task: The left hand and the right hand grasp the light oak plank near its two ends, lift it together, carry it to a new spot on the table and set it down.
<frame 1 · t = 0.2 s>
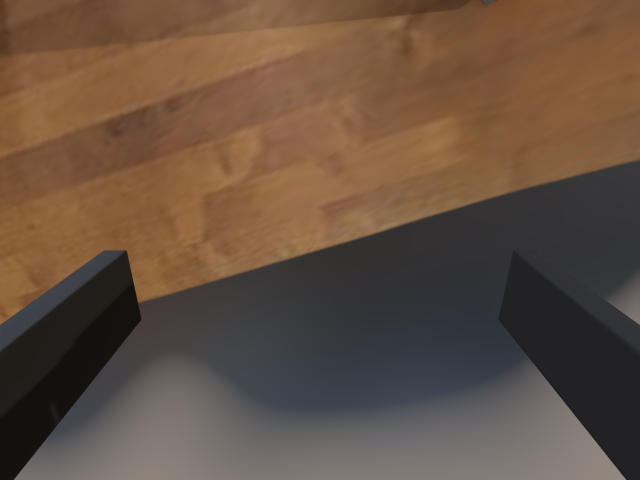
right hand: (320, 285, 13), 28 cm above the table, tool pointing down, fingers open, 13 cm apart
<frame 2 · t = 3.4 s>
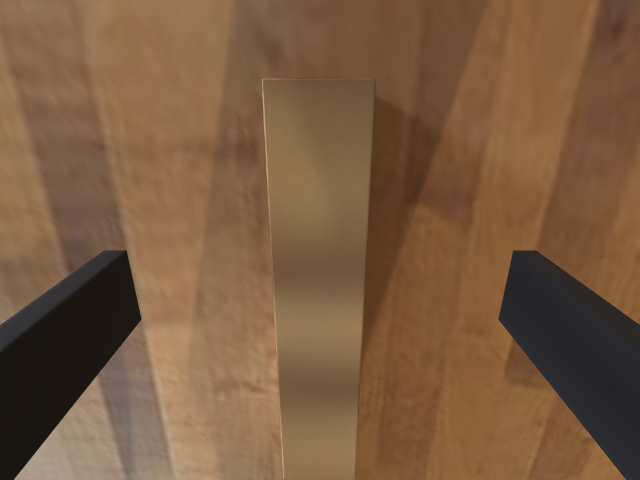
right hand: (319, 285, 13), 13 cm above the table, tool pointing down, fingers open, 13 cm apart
plank: (319, 410, 32), on the table, touching left hand
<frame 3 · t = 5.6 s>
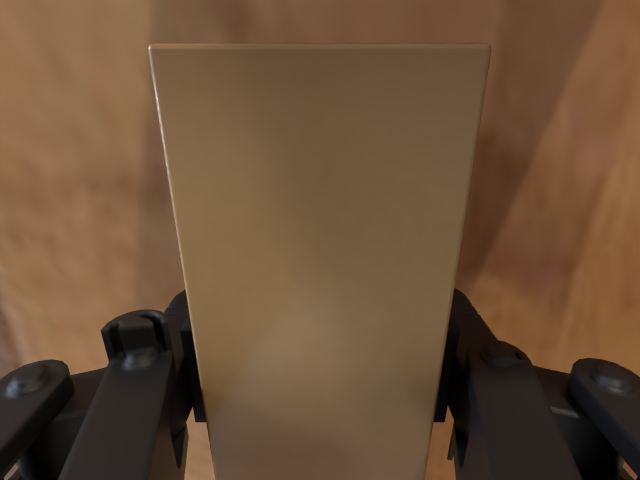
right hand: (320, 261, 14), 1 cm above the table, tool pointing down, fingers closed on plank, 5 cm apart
when the left hand's fingers open (2 cm above the table, at t = 9.1 s): plank drops 1 cm, on the table.
when the right hand's fingers open (2 cm above the table, at t = 9.1 s): plank drops 1 cm, on the table.
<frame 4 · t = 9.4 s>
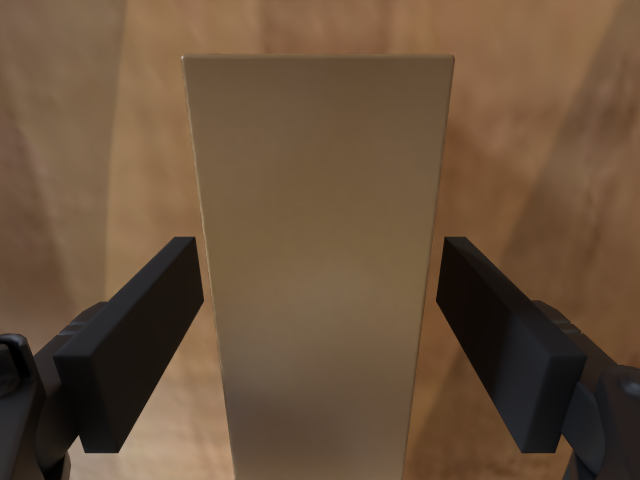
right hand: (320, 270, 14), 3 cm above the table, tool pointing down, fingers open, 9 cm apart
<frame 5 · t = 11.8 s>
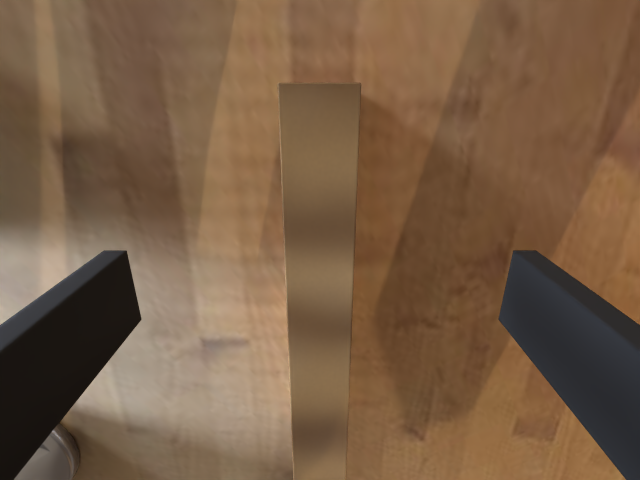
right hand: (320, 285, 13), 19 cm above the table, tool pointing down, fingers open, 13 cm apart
plank: (319, 364, 38), on the table
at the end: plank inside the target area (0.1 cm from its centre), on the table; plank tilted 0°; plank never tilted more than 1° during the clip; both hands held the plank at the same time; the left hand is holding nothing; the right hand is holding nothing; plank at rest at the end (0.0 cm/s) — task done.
